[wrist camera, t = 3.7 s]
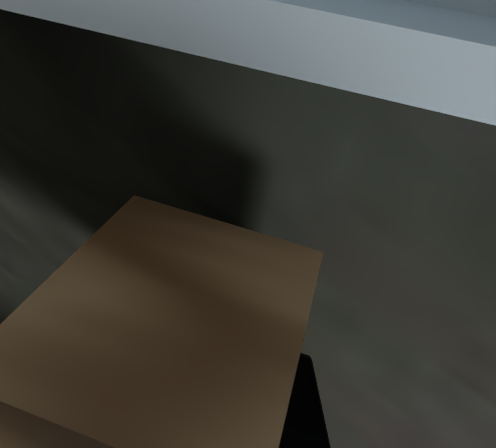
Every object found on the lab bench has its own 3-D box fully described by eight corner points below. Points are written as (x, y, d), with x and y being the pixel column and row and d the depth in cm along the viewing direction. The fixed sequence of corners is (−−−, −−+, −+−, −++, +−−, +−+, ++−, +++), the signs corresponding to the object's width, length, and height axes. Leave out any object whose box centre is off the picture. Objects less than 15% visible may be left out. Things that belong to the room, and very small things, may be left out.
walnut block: (138, 320, 12) (12, 505, 8) (134, 195, 9) (-60, 381, 5) (283, 370, 11) (223, 600, 7) (323, 251, 9) (263, 513, 5)
